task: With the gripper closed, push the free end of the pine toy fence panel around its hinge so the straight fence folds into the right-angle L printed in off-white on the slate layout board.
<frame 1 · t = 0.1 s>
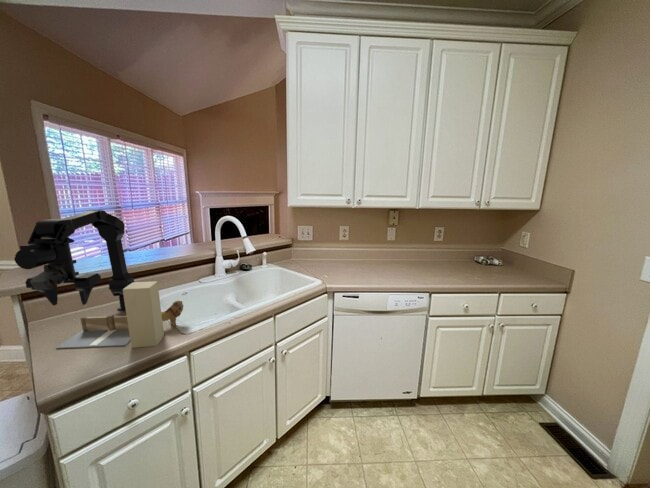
hand: (69, 304, 89), 15 cm above the worktop, tool pointing down, fingers open, 9 cm apart
lion figurine: (166, 326, 104), on the worktop
toy refrigerator: (149, 341, 94), on the worktop
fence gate: (95, 323, 99), point 3 cm above the worktop, hinge at 0.0°
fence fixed: (113, 330, 100), resting on layout board
layout board: (110, 332, 99), on the worktop
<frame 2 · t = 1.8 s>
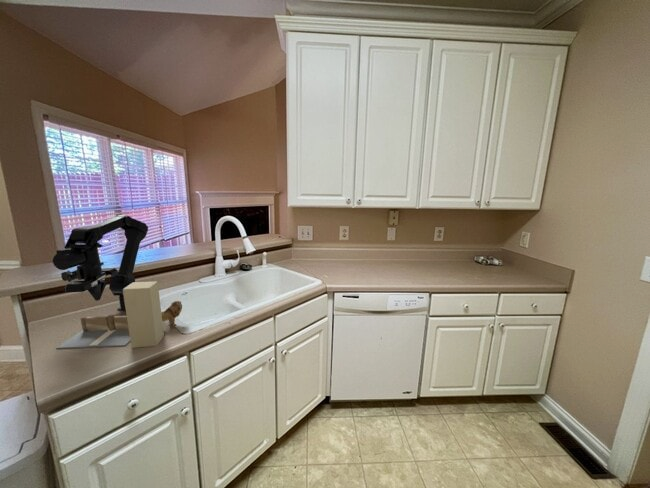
hand: (97, 300, 103), 10 cm above the worktop, tool pointing down, fingers closed
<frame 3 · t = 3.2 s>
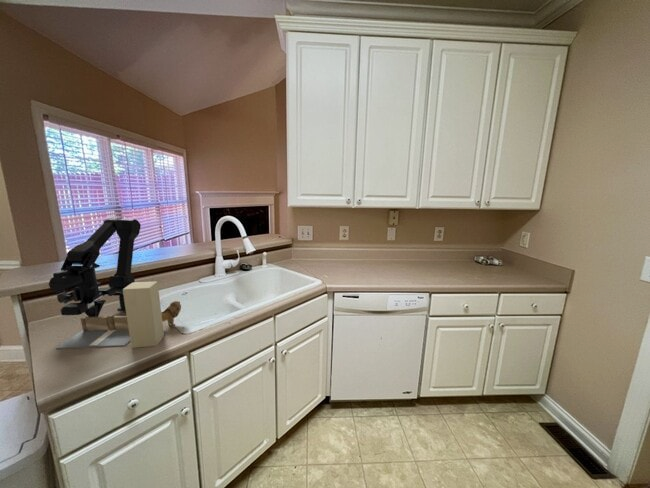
hand: (94, 321, 101), 3 cm above the worktop, tool pointing down, fingers closed
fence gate: (95, 323, 99), point 3 cm above the worktop, hinge at 0.0°, touching gripper
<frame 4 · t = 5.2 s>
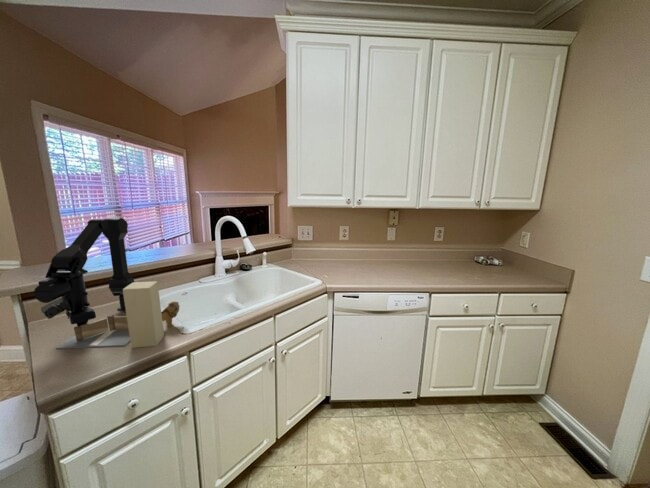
hand: (82, 330, 95), 3 cm above the worktop, tool pointing down, fingers closed
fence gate: (91, 329, 95), point 3 cm above the worktop, hinge at 46.9°, touching gripper
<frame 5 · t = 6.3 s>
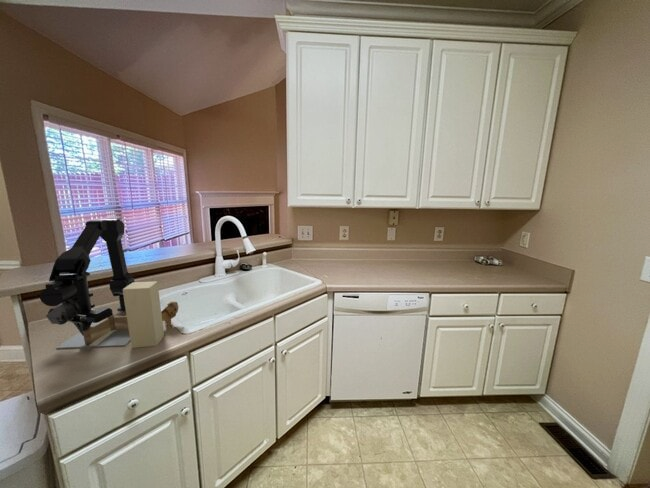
hand: (85, 335, 92), 3 cm above the worktop, tool pointing down, fingers closed
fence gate: (97, 331, 94), point 3 cm above the worktop, hinge at 78.2°, touching gripper
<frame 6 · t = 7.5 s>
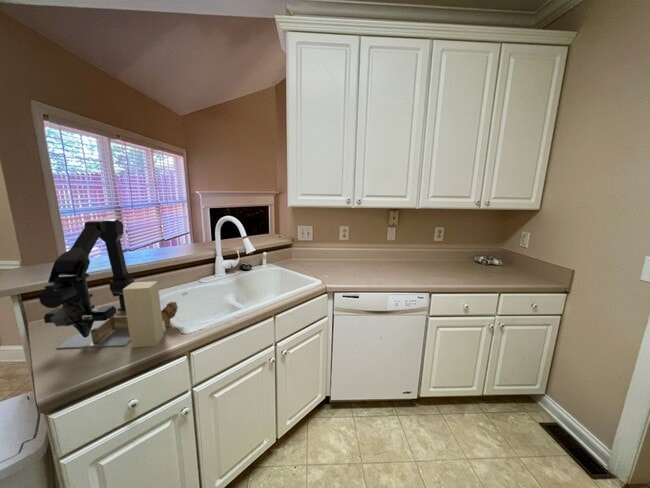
hand: (86, 336, 92), 2 cm above the worktop, tool pointing down, fingers closed
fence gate: (102, 331, 94), point 3 cm above the worktop, hinge at 94.5°
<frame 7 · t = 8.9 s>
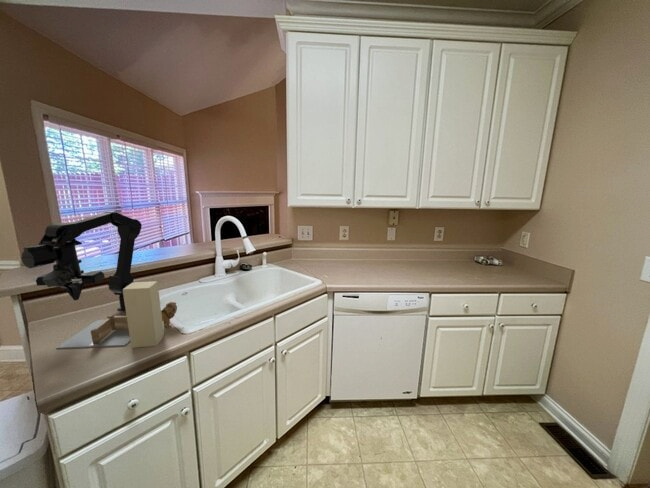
hand: (76, 299, 99), 12 cm above the worktop, tool pointing down, fingers closed
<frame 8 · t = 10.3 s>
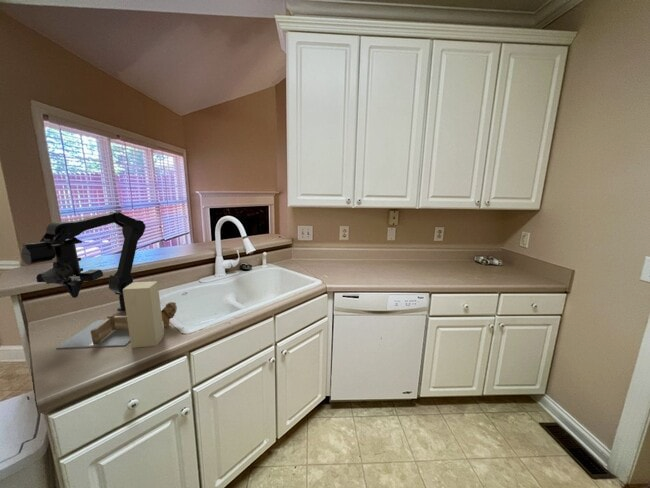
hand: (75, 297, 100), 12 cm above the worktop, tool pointing down, fingers closed
at the end: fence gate at +94° (first picture: +0°) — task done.
